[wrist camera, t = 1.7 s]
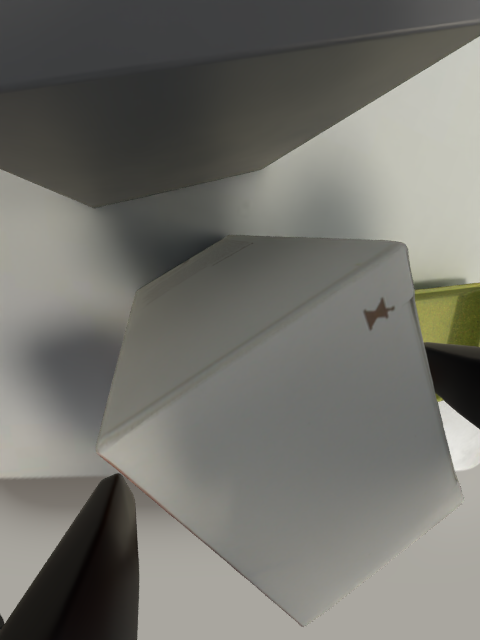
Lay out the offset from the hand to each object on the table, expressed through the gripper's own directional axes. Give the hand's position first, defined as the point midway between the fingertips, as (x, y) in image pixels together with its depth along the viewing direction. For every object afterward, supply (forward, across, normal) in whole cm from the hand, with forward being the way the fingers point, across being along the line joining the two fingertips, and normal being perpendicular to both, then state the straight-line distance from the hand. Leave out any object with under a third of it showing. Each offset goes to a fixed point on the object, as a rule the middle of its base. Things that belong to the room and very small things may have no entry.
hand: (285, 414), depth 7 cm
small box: (+8, 0, 0) cm, 8 cm away
